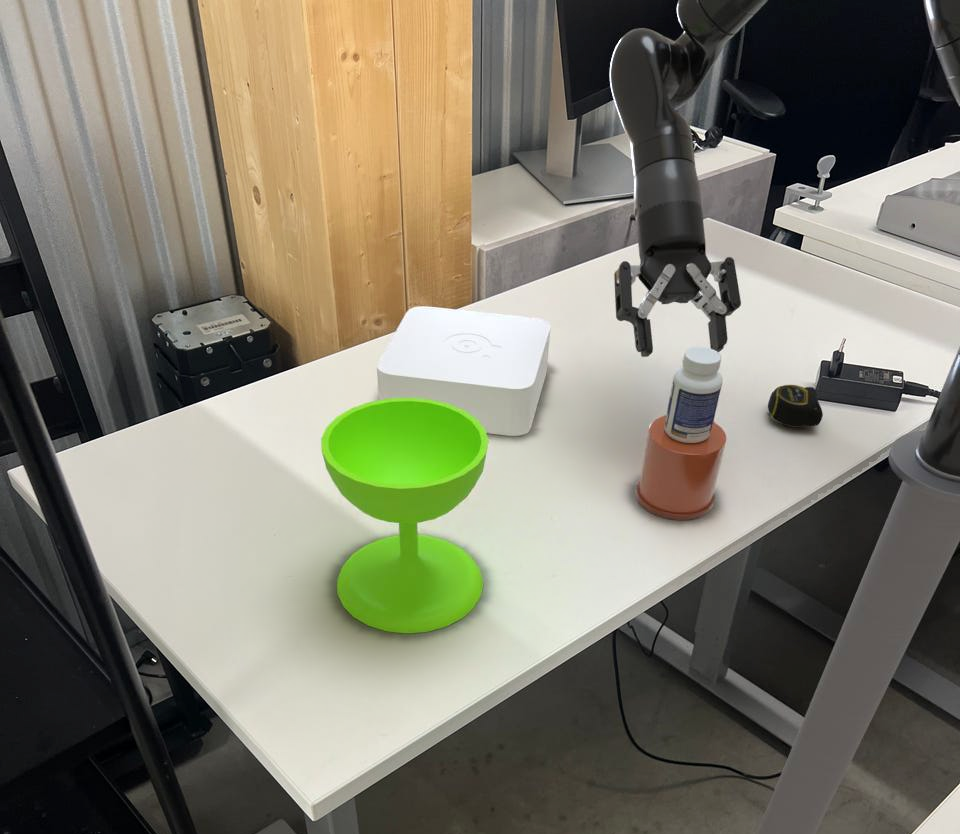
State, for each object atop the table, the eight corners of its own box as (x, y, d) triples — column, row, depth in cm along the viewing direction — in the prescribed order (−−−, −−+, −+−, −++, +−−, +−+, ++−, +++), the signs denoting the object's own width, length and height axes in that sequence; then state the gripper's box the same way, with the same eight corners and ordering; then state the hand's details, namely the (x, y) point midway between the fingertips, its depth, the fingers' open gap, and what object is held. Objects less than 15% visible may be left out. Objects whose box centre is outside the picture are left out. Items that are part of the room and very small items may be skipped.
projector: (550, 359, 138) (554, 315, 133) (528, 438, 122) (531, 391, 117) (414, 344, 140) (413, 300, 136) (375, 419, 125) (372, 372, 120)
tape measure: (818, 434, 125) (826, 409, 122) (767, 429, 125) (774, 405, 123) (812, 408, 130) (819, 384, 127) (763, 404, 130) (769, 380, 128)
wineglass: (413, 520, 109) (409, 381, 96) (513, 583, 101) (523, 441, 88) (306, 582, 100) (286, 438, 88) (406, 656, 92) (400, 510, 80)
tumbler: (729, 505, 113) (746, 441, 106) (669, 529, 109) (683, 464, 102) (678, 467, 118) (691, 404, 112) (619, 488, 114) (629, 424, 108)
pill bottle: (719, 439, 106) (738, 361, 100) (680, 449, 105) (697, 370, 98) (692, 416, 110) (708, 339, 103) (654, 425, 108) (668, 348, 101)
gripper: (618, 199, 101) (633, 345, 101) (740, 195, 103) (755, 338, 103) (600, 230, 109) (614, 366, 109) (714, 226, 111) (727, 360, 111)
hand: (682, 353), depth 106 cm, fingers open, 8 cm apart
